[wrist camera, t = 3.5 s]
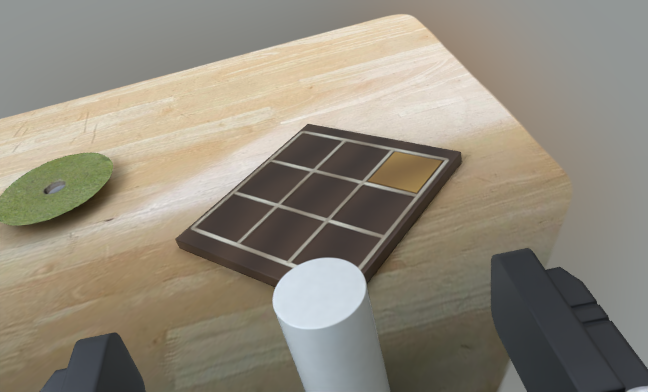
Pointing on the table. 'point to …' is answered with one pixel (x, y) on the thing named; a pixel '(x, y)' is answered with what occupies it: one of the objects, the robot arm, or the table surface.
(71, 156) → the green grinding disc
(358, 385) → the tall white cylinder
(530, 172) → the table surface
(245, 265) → the board
